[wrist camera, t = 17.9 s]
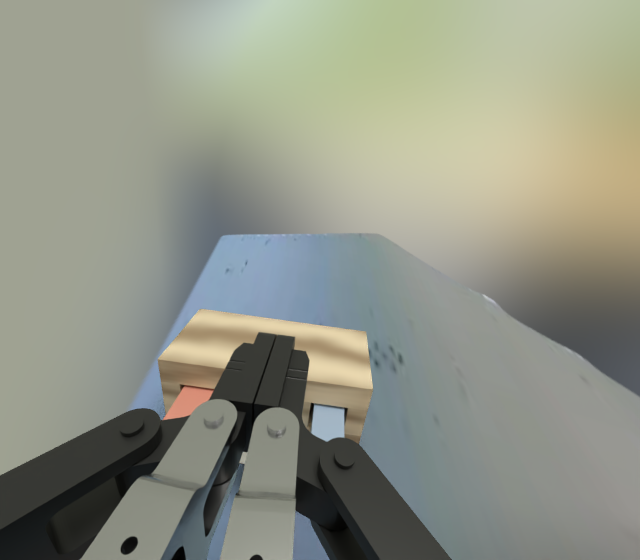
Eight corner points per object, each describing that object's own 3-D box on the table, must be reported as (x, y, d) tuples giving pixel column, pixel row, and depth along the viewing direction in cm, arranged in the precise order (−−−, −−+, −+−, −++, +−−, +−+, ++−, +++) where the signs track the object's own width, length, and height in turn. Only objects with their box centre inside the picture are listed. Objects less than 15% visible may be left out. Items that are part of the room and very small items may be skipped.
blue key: (339, 477, 28) (344, 455, 27) (305, 472, 28) (309, 450, 27) (340, 389, 38) (343, 370, 37) (315, 386, 38) (318, 366, 37)
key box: (350, 475, 36) (373, 389, 30) (171, 449, 36) (157, 359, 30) (348, 407, 45) (365, 331, 39) (205, 387, 45) (200, 308, 39)
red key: (193, 457, 28) (191, 434, 27) (160, 452, 28) (156, 429, 27) (232, 374, 38) (231, 355, 37) (207, 371, 38) (206, 351, 37)
